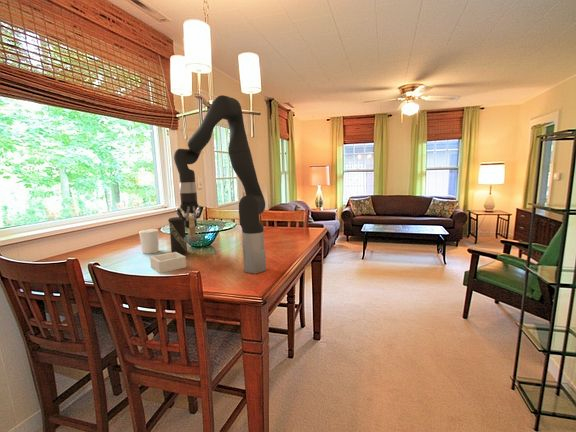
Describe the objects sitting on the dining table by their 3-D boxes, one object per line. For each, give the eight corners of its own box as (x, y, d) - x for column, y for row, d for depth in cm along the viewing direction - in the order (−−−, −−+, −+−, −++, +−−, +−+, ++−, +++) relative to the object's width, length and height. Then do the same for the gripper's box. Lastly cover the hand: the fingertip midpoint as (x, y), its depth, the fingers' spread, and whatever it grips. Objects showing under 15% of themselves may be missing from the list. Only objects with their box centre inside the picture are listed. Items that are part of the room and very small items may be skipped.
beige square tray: (186, 267, 139) (185, 256, 138) (159, 273, 131) (158, 262, 130) (176, 261, 148) (175, 251, 147) (150, 267, 140) (149, 256, 139)
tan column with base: (201, 240, 145) (198, 215, 143) (189, 242, 141) (186, 217, 140) (195, 239, 149) (193, 215, 148) (184, 241, 145) (181, 216, 144)
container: (169, 256, 157) (166, 218, 154) (171, 252, 166) (168, 216, 163) (187, 255, 159) (184, 217, 157) (188, 250, 168) (185, 215, 165)
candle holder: (155, 253, 163) (153, 232, 161) (137, 254, 163) (135, 232, 162) (163, 249, 173) (161, 228, 171) (146, 249, 173) (144, 229, 171)
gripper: (176, 193, 135) (179, 231, 137) (205, 191, 144) (208, 226, 146) (170, 192, 140) (173, 229, 143) (198, 190, 150) (201, 225, 152)
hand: (191, 227), depth 145 cm, fingers closed on tan column with base, 2 cm apart
